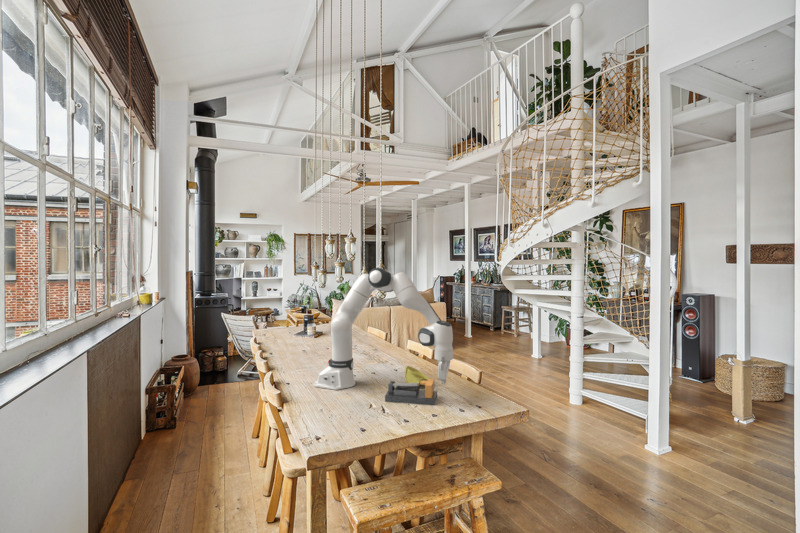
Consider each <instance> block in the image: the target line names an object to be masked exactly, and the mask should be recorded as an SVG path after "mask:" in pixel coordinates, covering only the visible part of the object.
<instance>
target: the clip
mask: <svg viewBox="0 0 800 533" xmlns="http://www.w3.org/2000/svg"><path fill="white" fill-rule="evenodd" d="M420 385H422V386H424V387H425V388H424V390H425V398H432V396H433V393H434V391H435V379H434V378H430V379H428V380H427V381H421V382H420Z"/></svg>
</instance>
